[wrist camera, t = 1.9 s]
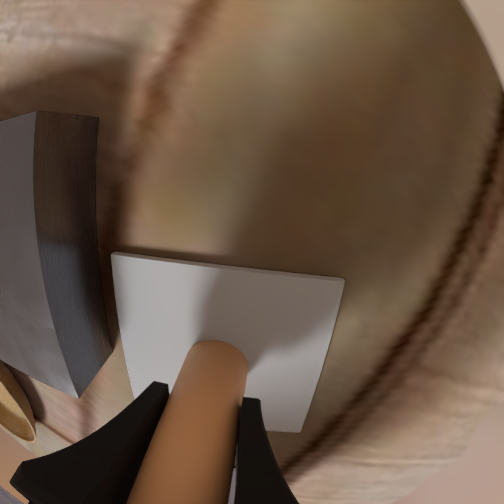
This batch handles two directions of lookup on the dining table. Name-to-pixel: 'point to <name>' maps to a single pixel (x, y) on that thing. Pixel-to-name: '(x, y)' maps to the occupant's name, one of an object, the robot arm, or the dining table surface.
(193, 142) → the dining table surface
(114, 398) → the dining table surface
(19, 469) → the robot arm
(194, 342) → the mat
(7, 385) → the plant saucer
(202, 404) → the peg
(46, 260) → the socket block
